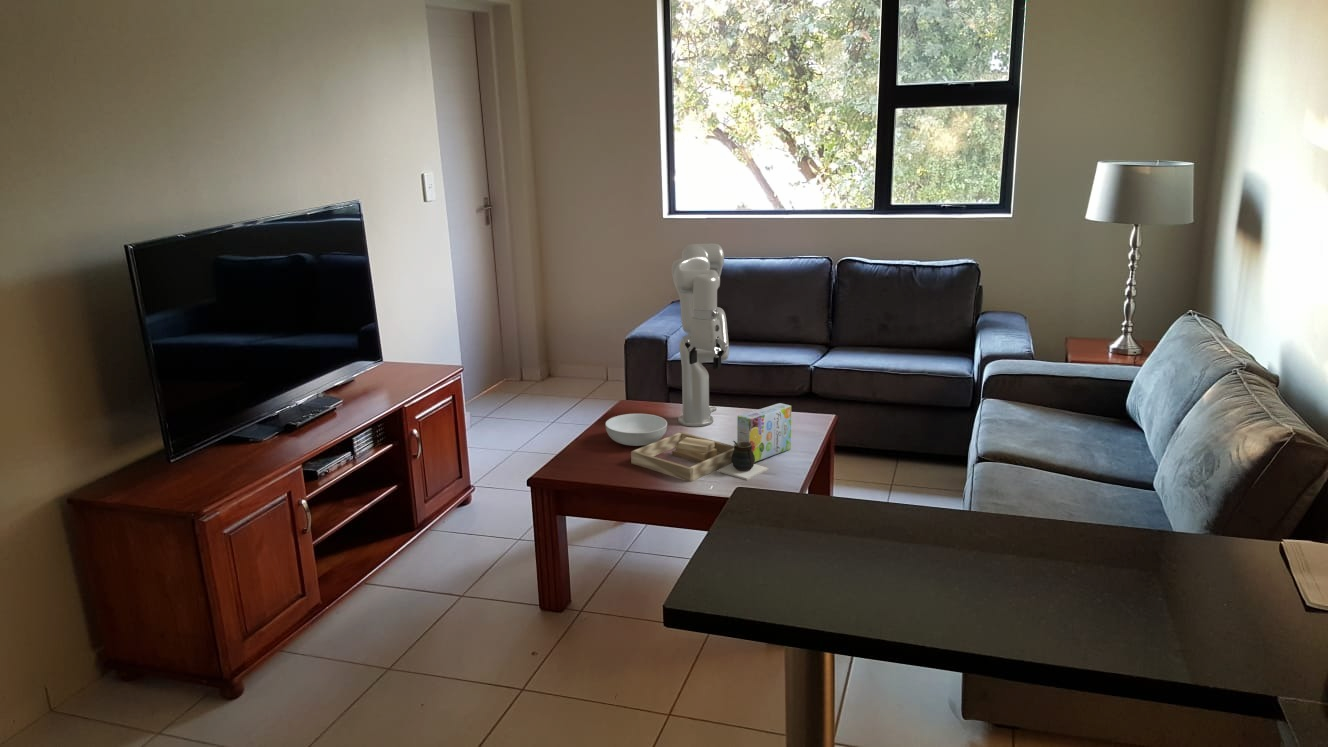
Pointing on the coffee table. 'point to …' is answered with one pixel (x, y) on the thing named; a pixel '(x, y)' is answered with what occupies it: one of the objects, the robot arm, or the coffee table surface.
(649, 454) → the tray
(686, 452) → the slat oak
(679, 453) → the slat walnut
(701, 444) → the slat pine
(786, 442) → the snack box
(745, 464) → the mate gourd
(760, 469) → the mat
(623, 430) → the serving bowl
